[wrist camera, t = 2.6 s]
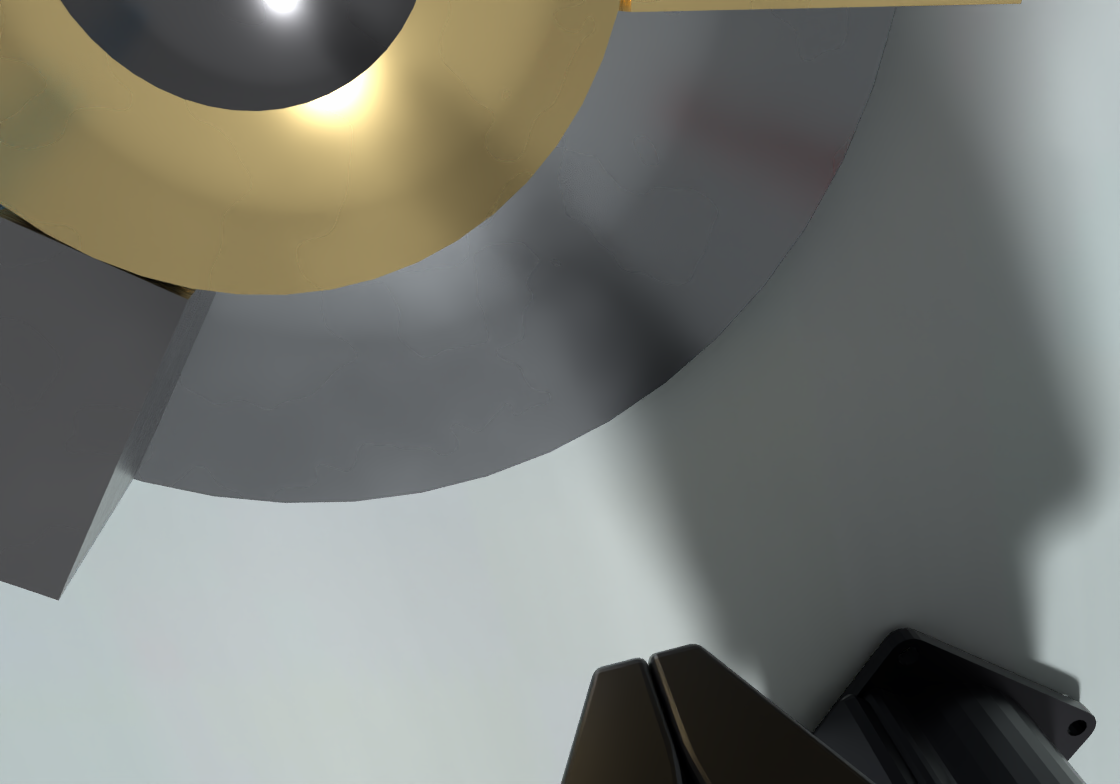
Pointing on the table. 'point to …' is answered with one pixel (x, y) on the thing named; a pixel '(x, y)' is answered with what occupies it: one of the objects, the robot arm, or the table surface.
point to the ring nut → (238, 193)
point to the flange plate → (540, 276)
